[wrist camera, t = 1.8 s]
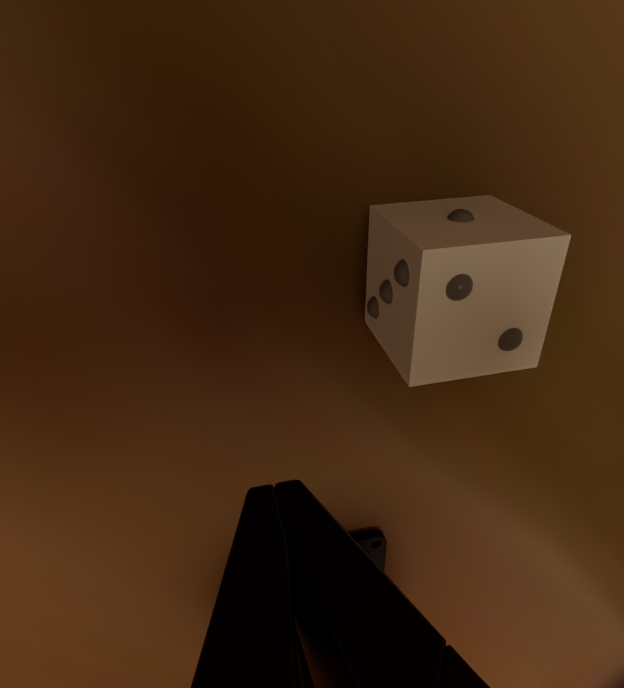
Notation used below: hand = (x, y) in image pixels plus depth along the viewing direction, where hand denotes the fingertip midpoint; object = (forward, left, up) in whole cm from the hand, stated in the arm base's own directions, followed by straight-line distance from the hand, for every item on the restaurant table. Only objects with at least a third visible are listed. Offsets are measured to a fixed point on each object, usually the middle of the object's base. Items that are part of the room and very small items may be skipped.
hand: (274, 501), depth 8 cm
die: (0, -6, -9) cm, 11 cm away
